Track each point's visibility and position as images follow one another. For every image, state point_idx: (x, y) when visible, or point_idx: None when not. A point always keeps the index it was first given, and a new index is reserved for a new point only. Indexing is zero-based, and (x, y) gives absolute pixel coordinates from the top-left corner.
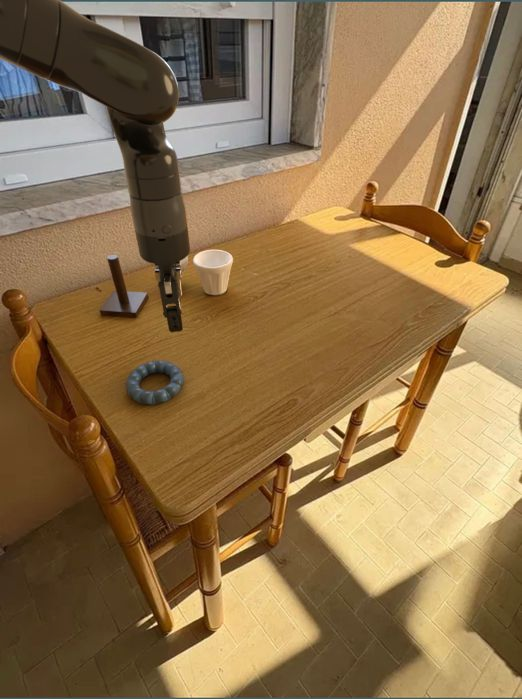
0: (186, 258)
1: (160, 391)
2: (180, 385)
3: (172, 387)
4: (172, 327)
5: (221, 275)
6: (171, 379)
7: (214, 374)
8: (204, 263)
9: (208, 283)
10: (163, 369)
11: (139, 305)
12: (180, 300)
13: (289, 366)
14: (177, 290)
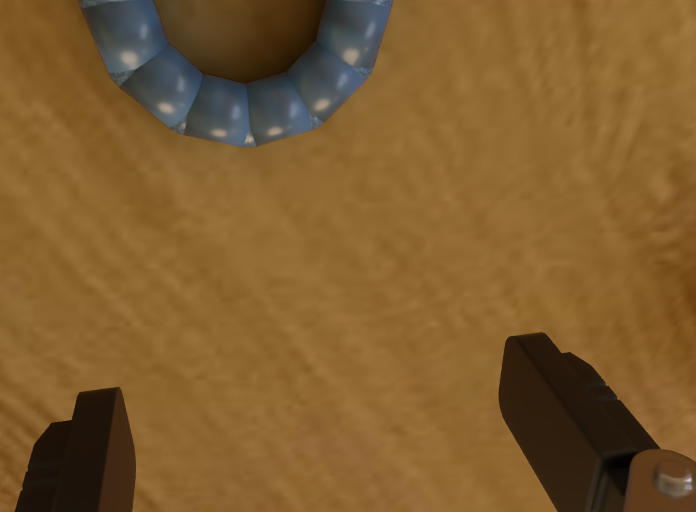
0: None
1: (127, 43)
2: (190, 135)
3: (157, 105)
4: (32, 470)
5: None
6: (224, 95)
7: (284, 261)
8: None
9: None
10: (318, 44)
11: None
12: (503, 417)
13: (288, 501)
14: (550, 481)
